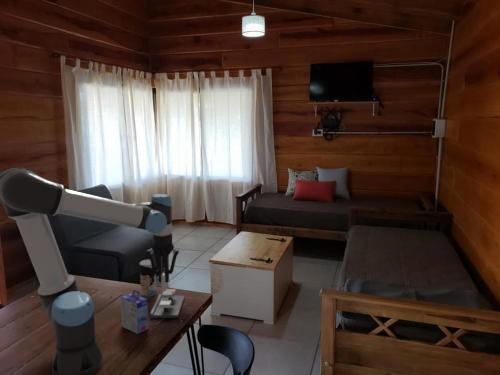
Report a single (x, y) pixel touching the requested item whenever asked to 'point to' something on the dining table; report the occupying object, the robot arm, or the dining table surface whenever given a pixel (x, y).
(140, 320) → the ink cartridge box
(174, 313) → the keypad board
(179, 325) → the dining table surface
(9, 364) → the dining table surface
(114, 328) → the dining table surface
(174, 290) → the key terracotta
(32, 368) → the dining table surface
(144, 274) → the printed cylindrical canister
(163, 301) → the key cream
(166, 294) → the key grey
